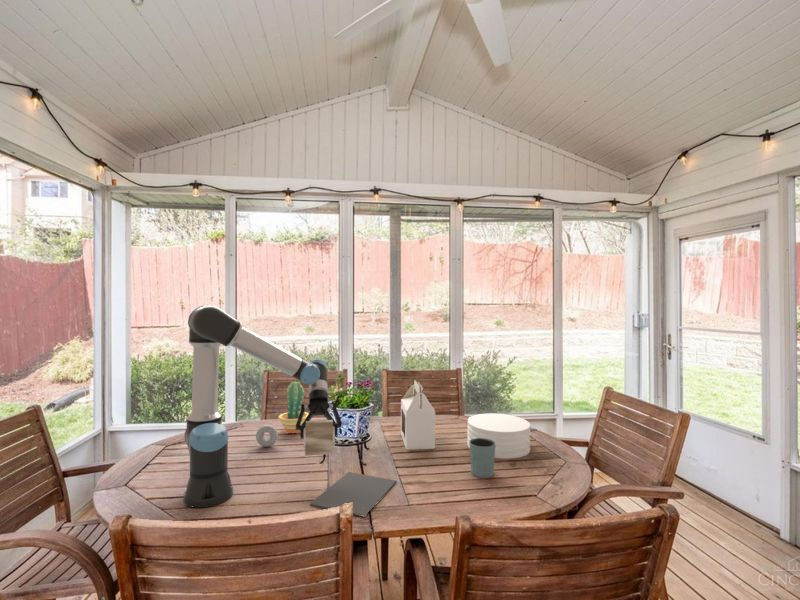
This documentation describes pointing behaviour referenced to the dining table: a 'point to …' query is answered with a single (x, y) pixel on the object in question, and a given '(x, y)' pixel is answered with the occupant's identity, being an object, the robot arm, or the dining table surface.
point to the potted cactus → (293, 408)
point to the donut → (267, 442)
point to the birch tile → (319, 437)
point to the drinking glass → (482, 457)
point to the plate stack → (501, 433)
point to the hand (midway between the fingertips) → (319, 445)
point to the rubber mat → (355, 492)
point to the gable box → (417, 419)
